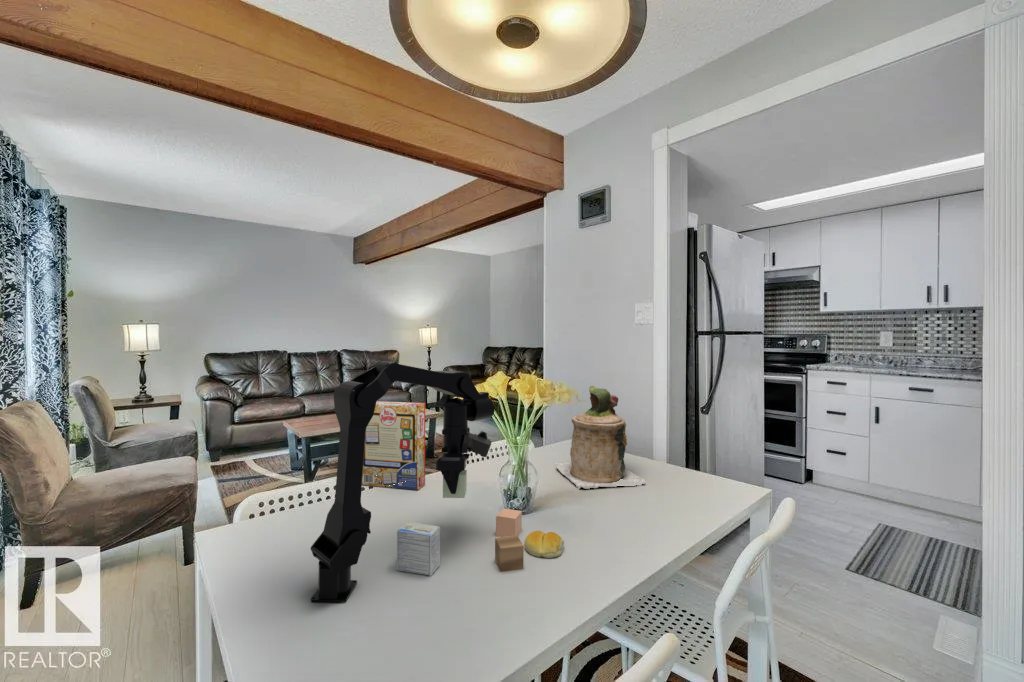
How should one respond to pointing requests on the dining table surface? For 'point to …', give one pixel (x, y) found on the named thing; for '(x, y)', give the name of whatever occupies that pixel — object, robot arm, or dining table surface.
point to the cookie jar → (598, 445)
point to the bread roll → (544, 544)
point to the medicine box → (418, 548)
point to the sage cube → (460, 487)
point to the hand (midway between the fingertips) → (454, 489)
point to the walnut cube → (509, 553)
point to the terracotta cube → (508, 523)
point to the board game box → (395, 446)
